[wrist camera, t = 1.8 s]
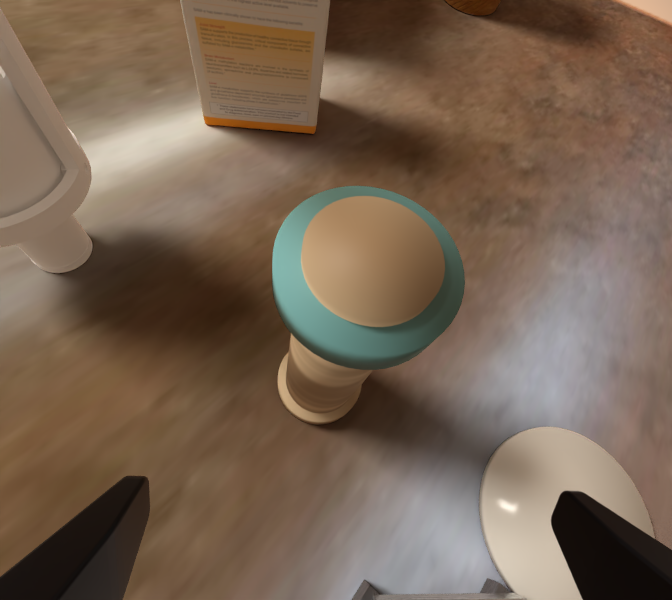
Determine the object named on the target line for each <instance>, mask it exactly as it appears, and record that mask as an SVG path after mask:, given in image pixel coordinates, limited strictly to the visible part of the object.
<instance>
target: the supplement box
mask: <svg viewBox="0 0 672 600" xmlns="http://www.w3.org/2000/svg"><path fill="white" fill-rule="evenodd" d="M180 2H181V7H182V12H183V17H184V22H185V27H186V32H187V37H188V42H189V47H190V52H191V58H192V62H193V67H194V72H195V77H196V82H197V87H198V92H199V97H200V102H201V107H202V112H203V116H204V120H205V124H208V125H221V126H232V127H243V128H255V129H266V130H278V131H288V132H299V133H310V134H314V133H315V131H316V125H317V116H318V107H319V99H320V90H321V82H322V73H323V62H324V53H325V44H326V35H327V26H328V17H329V7H330V0H180Z"/></svg>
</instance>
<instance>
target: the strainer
mask: <svg viewBox="0 0 672 600" xmlns="http://www.w3.org/2000/svg"><path fill="white" fill-rule="evenodd" d="M90 183H91V167H90V163H89V161H88V159H87V157H86V155H85V153H84V151H83V149H82V148H81V146H80V144H79V142H78V140H77V139H76V137H75V135H74V134H73V133H72V131H71V130H70V129H69V128H68V127H67V125H66V124H65V122H64V120H63V118H62V116H61V115H60V113H59V111H58V109H57V108H56V106H55V104H54V102H53V100H52V99H51V97H50V95H49V93H48V92H47V90H46V88H45V86H44V84H43V83H42V81H41V79H40V77H39V76H38V74H37V72H36V70H35V68H34V67H33V65H32V63H31V61H30V60H29V58H28V56H27V54H26V52H25V51H24V49H23V47H22V45H21V44H20V42H19V40H18V38H17V36H16V35H15V33H14V31H13V29H12V28H11V26H10V24H9V22H8V20H7V19H6V17H5V15H4V13H3V12H2V10H1V8H0V247H5V246H10V245H16V246H17V247H18V248H20V249H21V250H22V251H23V252H24V253H25V254H26V255H27V256H28V257H29V258H30V259H31V260H32V261H33V262H34V263H35V264H36V265H37V266H38V267H39V268H40V269H42V270H44V271H47V272H51V273H63V272H68V271H71V270H74V269H76V268H78V267H79V266H81V265H82V264H83V263H85V262H86V260H87V259H88V258H89V256H90V255H91V252H92V241H91V239H90V237H89V236H88V234H87V233H86V232H85V230H84V229H83V228H82V227H81V225H80V224H79V222H78V221H77V220H76V218H75V217H74V215H73V213H74V212H75V211H76V210H77V209H78V208H79V206H80V205H81V204H82V202H83V201H84V199H85V197H86V195H87V193H88V190H89V187H90Z"/></svg>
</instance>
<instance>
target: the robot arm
mask: <svg viewBox="0 0 672 600" xmlns="http://www.w3.org/2000/svg"><path fill="white" fill-rule="evenodd" d="M149 512H150V498H149V481H148V478H147V477H145V476H126V477H124V478H122V479H121V480H120V481H119V482H117V483H116V484H115V485H114V486H112V487H111V488H110V489H109V490H107V491H106V492H105V493H104V494H102V495H101V496H100V497H99V498H97V499H96V500H95V501H94V502H93V503H91V504H90V505H89V506H88V507H86V508H85V509H84V510H83V511H81V512H80V513H79V514H78V515H76V516H75V517H74V518H73V519H71V520H70V521H69V522H68V523H66V524H65V525H64V526H63V527H62V528H60V529H59V530H58V531H57V532H55V533H54V534H53V535H52V536H50V537H49V538H48V539H47V540H45V541H44V542H43V543H42V544H40V545H39V546H38V547H37V548H35V549H34V550H33V551H32V552H31V553H29V554H28V555H27V556H26V557H24V558H23V559H22V560H21V561H19V562H18V563H17V564H16V565H14V566H13V567H12V568H11V569H9V570H8V571H7V572H6V573H4V574H3V575H2V576H1V577H0V600H123V597H124V594H125V591H126V587H127V584H128V581H129V578H130V575H131V572H132V568H133V565H134V562H135V559H136V556H137V553H138V550H139V546H140V543H141V540H142V537H143V534H144V531H145V527H146V524H147V521H148V517H149ZM551 526H552V529H553V532H554V534H555V537H556V539H557V541H558V544H559V546H560V548H561V551H562V553H563V555H564V558H565V560H566V562H567V565H568V567H569V569H570V572H571V574H572V577H573V579H574V581H575V584H576V586H577V588H578V591H579V593H580V595H581V597H582V599H583V600H672V550H671V549H669V548H668V547H666V546H665V545H663V544H662V543H660V542H659V541H657V540H656V539H654V538H653V537H651V536H650V535H648V534H646V533H645V532H643V531H642V530H640V529H639V528H637V527H636V526H634V525H633V524H631V523H630V522H628V521H627V520H625V519H624V518H622V517H621V516H619V515H617V514H616V513H614V512H613V511H611V510H610V509H608V508H607V507H605V506H604V505H602V504H601V503H599V502H598V501H596V500H595V499H593V498H592V497H590V496H588V495H587V494H585V493H584V492H581V491H563V492H562V493H561V494H560V496H559V498H558V501H557V503H556V506H555V508H554V511H553V513H552V516H551Z"/></svg>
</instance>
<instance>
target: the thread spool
mask: <svg viewBox="0 0 672 600" xmlns="http://www.w3.org/2000/svg"><path fill="white" fill-rule="evenodd" d="M464 285H465V280H464V269H463V264H462V260H461V257H460V254H459V251H458V249H457V247H456V245H455V243H454V241H453V239H452V238H451V236H450V235H449V233H448V232H447V230H446V229H445V228H444V227H443V225H442V224H441V223H440V222H439V221H438V220H437V219H436V218H435V217H434V216H433V215H432V214H431V213H429V212H428V211H427V210H426V209H424V208H423V207H421V206H420V205H418V204H417V203H415V202H414V201H412V200H410V199H408V198H406V197H404V196H402V195H399V194H397V193H394V192H391V191H388V190H384V189H380V188H374V187H366V186H346V187H338V188H334V189H330V190H326V191H324V192H321V193H318V194H316V195H314V196H312V197H310V198H308V199H307V200H305V201H304V202H302V203H301V204H300V205H298V206H297V207H296V208H295V209H294V210H293V211H292V212H291V213H290V214H289V216H288V217H287V218H286V219H285V221H284V222H283V224H282V226H281V228H280V229H279V232H278V234H277V237H276V239H275V244H274V249H273V262H272V286H273V296H274V300H275V304H276V307H277V310H278V312H279V314H280V317H281V319H282V320H283V322H284V324H285V325H286V327H287V328H288V330H289V331H290V332H291V339H290V347H289V352H288V353H287V354H286V355H285V357H284V358H283V360H282V362H281V365H280V368H279V372H278V392H279V396H280V399H281V401H282V403H283V405H284V406H285V408H286V409H287V410H288V411H289V412H290V413H291V414H292V415H293V416H294V417H296V418H297V419H299V420H301V421H303V422H306V423H309V424H315V425H322V424H328V423H331V422H334V421H336V420H338V419H340V418H341V417H343V416H344V415H345V414H346V413H347V412H348V411H349V410H350V409H351V408H352V407H353V406H354V404H355V403H356V401H357V399H358V397H359V395H360V392H361V387H362V383H363V382H364V380H365V379H366V378H367V377H368V376H369V375H370V373H371V372H372V371H373V370H377V369H385V368H389V367H393V366H397V365H399V364H402V363H404V362H406V361H409V360H410V359H412V358H413V357H415V356H417V355H418V354H419V353H421V352H422V351H423V350H424V349H425V348H427V347H428V346H429V345H430V344H431V343H432V342H433V341H434V340H435V339H436V338H437V337H438V336H440V335H441V334H442V333H443V332H444V331H445V330H446V328H447V327H448V326H449V325H450V324H451V322H452V321H453V319H454V318H455V316H456V314H457V312H458V310H459V308H460V305H461V302H462V298H463V294H464Z"/></svg>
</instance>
